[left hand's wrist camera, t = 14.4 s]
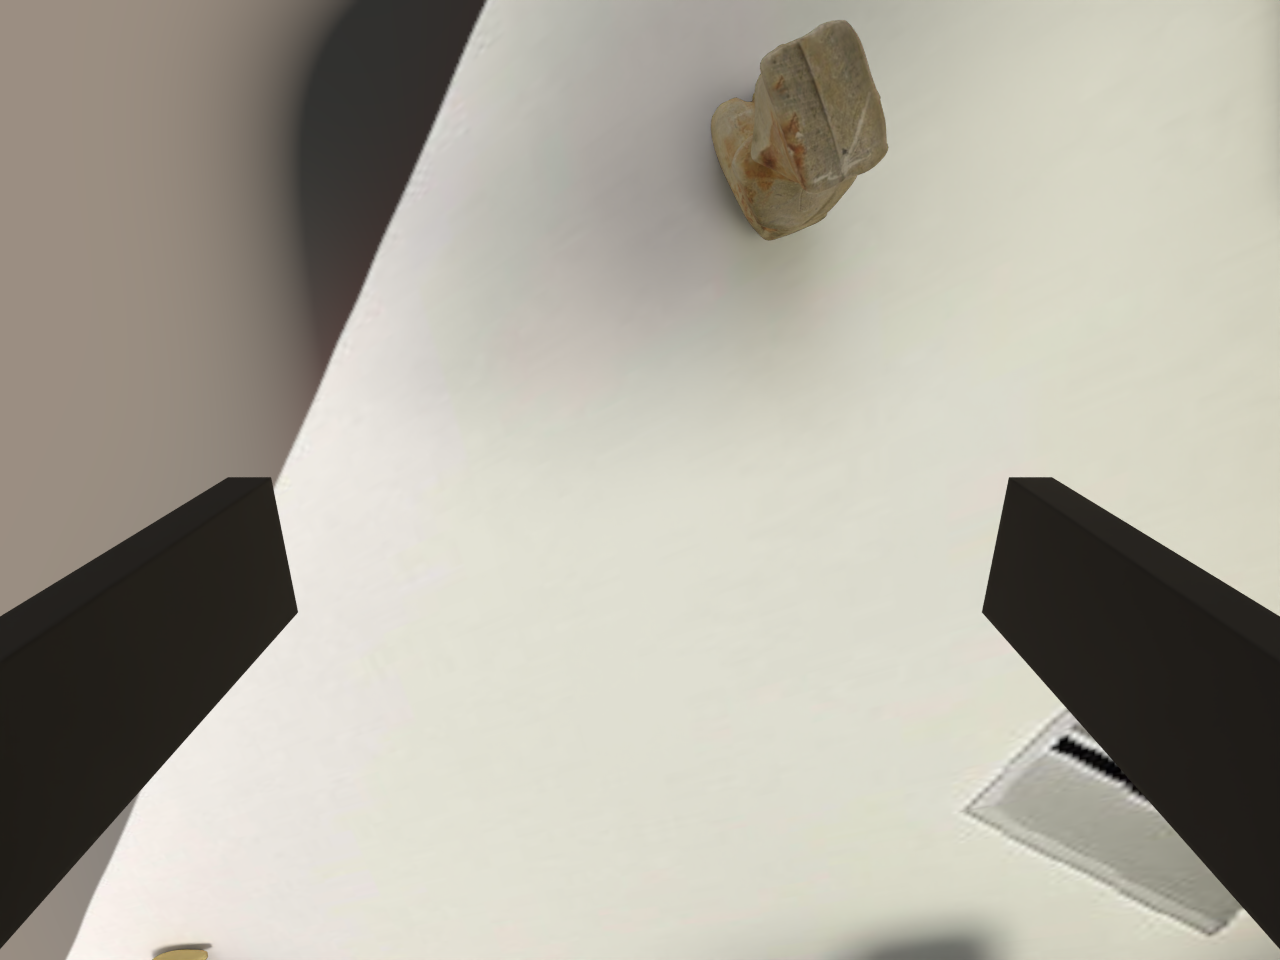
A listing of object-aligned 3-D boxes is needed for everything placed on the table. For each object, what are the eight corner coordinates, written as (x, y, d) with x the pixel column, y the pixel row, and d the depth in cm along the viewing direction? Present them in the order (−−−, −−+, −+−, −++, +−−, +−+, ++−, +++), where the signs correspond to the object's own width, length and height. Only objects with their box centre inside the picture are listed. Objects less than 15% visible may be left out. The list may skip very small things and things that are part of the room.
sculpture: (798, 75, 36) (899, -23, 22) (831, 214, 38) (943, 207, 24) (692, 117, 36) (724, 49, 22) (731, 251, 39) (783, 265, 25)
